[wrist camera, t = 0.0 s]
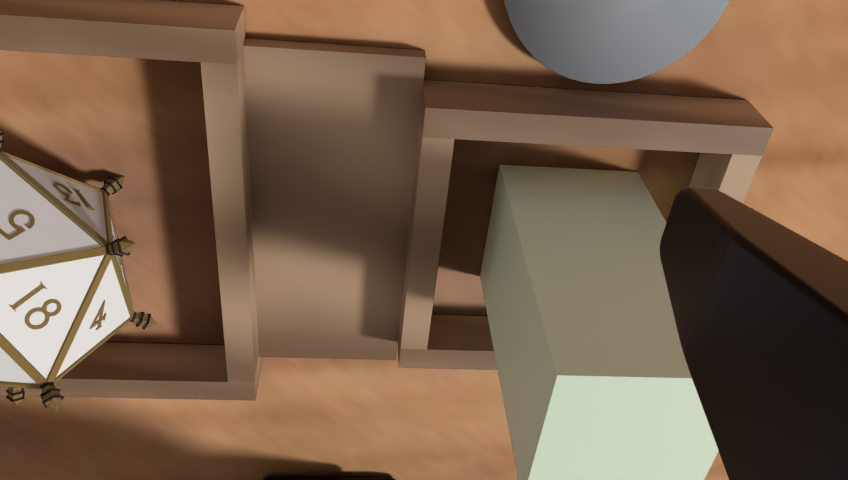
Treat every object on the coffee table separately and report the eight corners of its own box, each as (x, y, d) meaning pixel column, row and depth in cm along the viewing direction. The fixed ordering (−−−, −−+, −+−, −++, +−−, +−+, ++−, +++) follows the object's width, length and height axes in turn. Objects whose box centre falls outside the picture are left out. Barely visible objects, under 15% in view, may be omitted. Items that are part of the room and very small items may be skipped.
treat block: (605, 280, 30) (693, 501, 22) (480, 276, 29) (522, 500, 21) (637, 171, 27) (753, 379, 19) (499, 164, 26) (557, 375, 18)
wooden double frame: (645, 372, 33) (659, 407, 31) (-99, 355, 30) (-126, 393, 28) (769, 42, 24) (797, 68, 22) (-267, -31, 21) (-320, -7, 19)
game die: (135, 162, 29) (240, 371, 26) (-67, 272, 28) (12, 508, 25) (-3, 9, 21) (120, 280, 18) (-291, 153, 20) (-228, 477, 16)
